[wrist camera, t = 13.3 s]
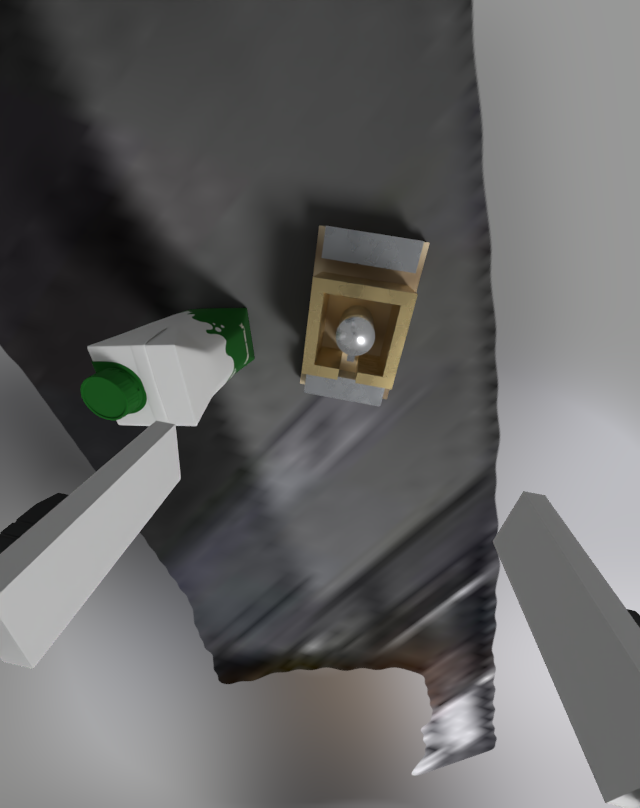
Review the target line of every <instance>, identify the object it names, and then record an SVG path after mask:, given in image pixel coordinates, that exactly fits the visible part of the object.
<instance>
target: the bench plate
mask: <svg viewBox="0 0 640 808" xmlns="http://www.w3.org/2000/svg"><path fill="white" fill-rule="evenodd" d="M325 227H326V226H320V225H319V231H318V240H317V248H316V256H315V264H314V273H313V277H314V276H315V275H317V274H319V273H320V272H329V273H335V274H341V275H347V276H353V277H360V278H366V279H372V280H378V281H384V282H390V283H397V284H403V285H408V286H410V287H411V288H412V289H413V290H414V291H415V292H416V291H417V287H418V283H419V280H420V276H421V272H422V269H423V265H424V262H425V258H426V254H427V251H428V247H429V243H427V242H424V244H423V248H422V252H421V255H420V259H419V263H418V267H417V270H416V273H410V272H404V271H398V270H392V269H386V268H380V267H374V266H367V265H361V264H355V263H349V262H343V261H337V260H331V259H325V258H322V251H323V243H324V235H325ZM311 290H312V289H311ZM310 298H311V297H310ZM353 305H361V306H364V307H366V308H367V309H368V310H369V311H370V312H371V314H372V316H373V322H374V331H375V341H374V344H373V346H372V347H371V349H370V350H369V351H368V352H366V353H365V354H370V355H376V356H380V354H381V350H382V346H383V341H384V337H385V333H386V329H387V325H388V321H389V317H390V312H391V308H392V304H389V303H383V302H377V301H371V300H365V299H359V298H352V297H346V296H340V295H334V294H329V301H328V308H327V315H326V322H325V329H324V336H323V343H322V346H324V347H330V348H335V349H340V348H339V347H338V345H337V343H336V331H337V328H338V325H339V322H340V319H341V316H342V314H343V312H344V311H345V310H346V309H347V308H349V307H351V306H353ZM309 307H310V305H309ZM308 315H309V314H308ZM307 324H308V322H307ZM306 332H307V330H306ZM305 341H306V338H305ZM304 349H305V347H304ZM303 358H304V355H303ZM357 358H358V356H355V358H354V362H351V361H347V354H345V353H344V352H343V353H342V359H341V364H340V369H339V370H344V371H349V372H355V373H356V365H357ZM302 366H303V363H302ZM305 381H306V374H302V371H301V380H300V384H305ZM388 392H389V389H386V388H385V390H384V394H383V398H382V399H387V396H388Z"/></svg>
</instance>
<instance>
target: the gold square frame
mask: <svg viewBox="0 0 640 808" xmlns="http://www.w3.org/2000/svg"><path fill="white" fill-rule="evenodd" d="M329 294H334V295H340V296H346V297H352V298H359V299H365V300H371V301H377V302H383V303H389V304H392V308H391V312H390V317H389V321H388V325H387V329H386V333H385V337H384V341H383V346H382V350H381V354H380V356H376V355H370V354H362V355H359V356H358V358H357V365H356V380H355V383H358V384H364V385H369V386H375V387H380V388H386V389H392V386H393V382H394V379H395V375H396V372H397V368H398V364H399V361H400V357H401V353H402V350H403V346H404V342H405V339H406V335H407V331H408V328H409V324H410V320H411V317H412V313H413V309H414V306H415V302H416V299H417V295H418V294H417V293H416V292H415V291H414V290H413V289H412V288H411V287H410V286H408V285H403V284H397V283H390V282H384V281H378V280H372V279H366V278H360V277H353V276H347V275H341V274H335V273H329V272H320V273H319V274H317V275H315V276H314V277H313V281H312V290H311V298H310V307H309V315H308V324H307V332H306V341H305V349H304V358H303V366H302V374H308V375H313V376H319V377H324V378H330V379H336V380H337V379H338V374H339V369H340V364H341V359H342V353H343V352H342V351H341V350H340V349H335V348H330V347H324V346H322V343H323V336H324V329H325V322H326V315H327V308H328V301H329Z"/></svg>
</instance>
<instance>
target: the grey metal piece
mask: <svg viewBox="0 0 640 808" xmlns="http://www.w3.org/2000/svg"><path fill="white" fill-rule="evenodd" d="M423 244H424V241H420V240H413V239H407V238H401V237H395V236H388V235H382V234H376V233H369V232H363V231H357V230H350V229H344V228H338V227H332V226H326V227H325V235H324V243H323V251H322V258H325V259H331V260H337V261H343V262H349V263H355V264H361V265H367V266H374V267H380V268H386V269H392V270H398V271H404V272H410V273H416V270H417V267H418V263H419V259H420V255H421V252H422V248H423ZM374 341H375V331H374V322H373V316H372V314H371V312H370V311H369V310H368V309H367V308H366V307H364V306H361V305H353V306H351V307H349V308H347V309H346V310H345V311H344V312H343V314H342V316H341V319H340V322H339V325H338V328H337V331H336V343H337V345H338V347H339V348H340V350H341V351H342V352H344V353H345V354H347V361H351V362H354V358H355V356H359V355H362V354H365V353H366V352H368V351H369V350H370V349H371V347H372V346H373V344H374ZM355 380H356V373H355V372H349V371H344V370H339V374H338V379H337V380H336V379H330V378H324V377H319V376H313V375H308V374H306V381H305V389H304V392H305V393H310V394H315V395H321V396H326V397H332V398H337V399H342V400H348V401H353V402H359V403H364V404H369V405H375V406H380V405H381V401H382V398H383V394H384V390H385V388H380V387H375V386H369V385H364V384H358V383H355Z"/></svg>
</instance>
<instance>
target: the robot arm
mask: <svg viewBox="0 0 640 808" xmlns="http://www.w3.org/2000/svg"><path fill="white" fill-rule="evenodd" d="M180 479H181V476H180V466H179V456H178V446H177V435H176V425H175V424H171V423H166V422H161V421H155V422H154V423H153V424H152V425H150V426H149V427H148V428H147V429H146V430H145V431H143V432H142V433H141V434H140V435H139V436H138V437H136V438H135V439H134V440H133V441H132V442H131V443H129V444H128V445H127V446H126V447H125V448H124V449H122V450H121V451H120V452H119V453H118V454H117V455H115V456H114V457H113V458H112V459H111V460H110V461H108V462H107V463H106V464H105V465H104V466H103V467H101V468H100V469H99V470H98V471H97V472H96V473H95V474H93V475H92V476H91V477H90V478H89V479H87V480H86V481H85V482H84V483H83V484H81V485H80V486H79V487H78V488H77V489H76V490H75V491H74V492H72V493H71V494H70V495H66V494H61V493H57V494H55V495H53V496H51V497H49V498H47V499H45V500H43V501H41V502H39V503H37V504H36V505H34V506H33V507H32V508H31V509H29V510H28V511H27V512H26V513H24V514H23V515H22V516H20V517H19V518H18V519H17V521H16V522H15V523H12V524H11V525H9V526H8V527H7V528H5V529H4V530H3V531H2V532H1V534H0V659H1V660H2V662H6V663H10V664H14V665H19V666H23V667H27V668H31V669H33V668H34V667H35V666H36V665H37V663H38V662H39V661H40V659H41V658H42V657H43V655H44V654H45V653H46V652H47V650H48V649H49V648H50V647H51V645H52V644H53V643H54V641H55V640H56V639H57V637H58V636H59V635H60V634H61V632H62V631H63V630H64V629H65V627H66V626H67V625H68V623H69V622H70V621H71V620H72V618H73V617H74V616H75V614H76V613H77V612H78V611H79V609H80V608H81V607H82V605H83V604H84V603H85V602H86V600H87V599H88V598H89V596H90V595H91V594H92V593H93V591H94V590H95V589H96V587H97V586H98V585H99V584H100V582H101V581H102V580H103V578H104V577H105V576H106V574H107V573H108V572H109V571H110V569H111V568H112V567H113V565H114V564H115V563H116V562H117V560H118V559H119V558H120V556H121V555H122V554H123V553H124V551H125V550H126V549H127V547H128V546H129V545H130V543H131V542H132V541H133V540H134V538H135V537H136V536H137V535H138V533H139V532H140V531H141V529H142V528H143V527H144V526H145V524H146V523H147V522H148V520H149V519H150V518H151V517H152V515H153V514H154V513H155V511H156V510H157V509H158V508H159V506H160V505H161V504H162V502H163V501H164V500H165V498H166V497H167V496H168V495H169V493H170V492H171V491H172V489H173V488H174V487H175V486H176V484H177V483H178V482H179V480H180ZM493 543H494V546H495V548H496V550H497V553H498V555H499V557H500V560H501V562H502V564H503V566H504V569H505V571H506V573H507V576H508V578H509V580H510V583H511V585H512V587H513V590H514V592H515V594H516V597H517V599H518V601H519V604H520V606H521V608H522V611H523V613H524V615H525V618H526V620H527V622H528V624H529V627H530V629H531V631H532V634H533V636H534V638H535V641H536V643H537V645H538V648H539V650H540V652H541V655H542V657H543V659H544V662H545V664H546V666H547V668H548V671H549V673H550V676H551V678H552V680H553V682H554V685H555V687H556V690H557V692H558V694H559V696H560V699H561V701H562V703H563V706H564V708H565V710H566V713H567V715H568V717H569V720H570V722H571V724H572V726H573V729H574V731H575V734H576V736H577V738H578V740H579V743H580V745H581V747H582V750H583V752H584V754H585V757H586V759H587V761H588V764H589V766H590V768H591V771H592V773H593V775H594V778H595V780H596V782H597V784H598V787H599V789H600V792H601V794H602V796H603V798H604V801H605V803H607V804H611V805H615V806H619V807H624V808H640V615H639V614H638V613H637V612H636V611H632V610H628V609H626V608H625V607H624V605H623V604H622V603H621V601H620V600H619V598H618V597H617V595H616V594H615V593H614V591H613V590H612V588H611V587H610V586H609V584H608V583H607V581H606V580H605V579H604V577H603V576H602V575H601V573H600V572H599V570H598V569H597V568H596V566H595V565H594V563H593V562H592V561H591V559H590V558H589V556H588V555H587V554H586V552H585V551H584V549H583V548H582V547H581V545H580V544H579V542H578V541H577V540H576V538H575V537H574V536H573V534H572V533H571V531H570V530H569V528H568V527H567V526H566V524H565V523H564V522H563V520H562V519H561V517H560V516H559V515H558V513H557V512H556V510H555V509H554V508H553V506H552V505H551V503H550V502H549V500H548V499H547V498H546V496H545V495H540V494H535V493H529V492H523V493H522V495H521V496H520V498H519V500H518V501H517V503H516V504H515V506H514V508H513V509H512V511H511V512H510V514H509V516H508V518H507V519H506V521H505V522H504V524H503V525H502V527H501V529H500V530H499V532H498V534H497V535H496V537H495V538H494V540H493Z"/></svg>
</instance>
